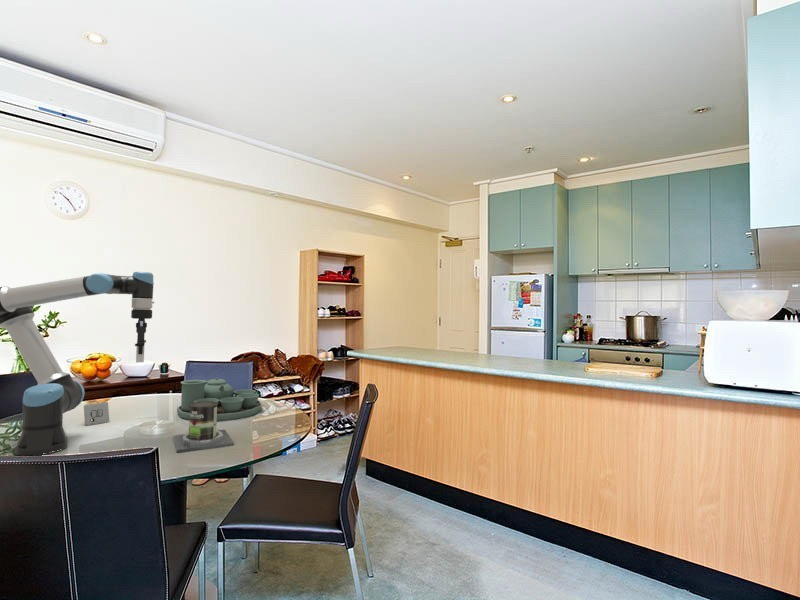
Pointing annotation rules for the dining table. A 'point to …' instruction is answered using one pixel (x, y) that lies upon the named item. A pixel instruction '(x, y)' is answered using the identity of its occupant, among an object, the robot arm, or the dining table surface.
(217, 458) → the dining table surface
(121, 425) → the dining table surface
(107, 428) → the dining table surface
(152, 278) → the robot arm
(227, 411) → the tea set
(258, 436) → the dining table surface
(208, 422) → the coffee can
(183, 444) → the flange base
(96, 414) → the electrical switch
